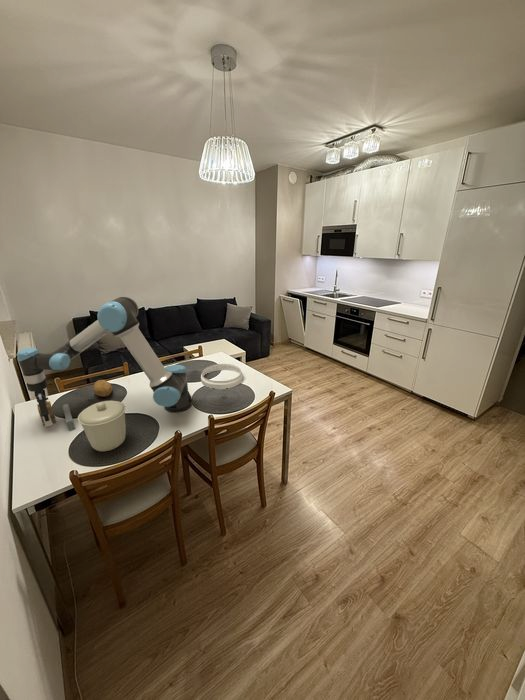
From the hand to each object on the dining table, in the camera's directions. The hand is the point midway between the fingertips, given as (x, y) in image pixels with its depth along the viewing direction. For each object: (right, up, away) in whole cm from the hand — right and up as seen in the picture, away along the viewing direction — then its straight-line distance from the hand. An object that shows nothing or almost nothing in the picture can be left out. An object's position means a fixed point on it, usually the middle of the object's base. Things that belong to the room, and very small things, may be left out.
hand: (48, 418), depth 139 cm
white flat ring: (+80, +15, +46) cm, 93 cm away
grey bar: (+9, -1, +2) cm, 10 cm away
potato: (+14, +8, +25) cm, 30 cm away
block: (0, -2, +1) cm, 2 cm away
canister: (+38, -8, -13) cm, 40 cm away
